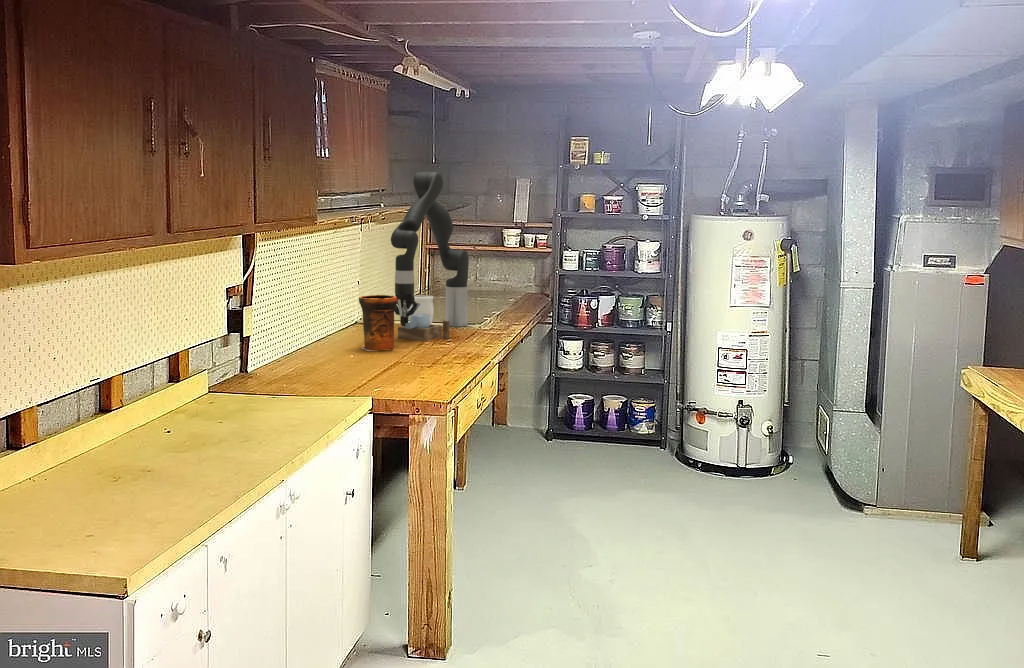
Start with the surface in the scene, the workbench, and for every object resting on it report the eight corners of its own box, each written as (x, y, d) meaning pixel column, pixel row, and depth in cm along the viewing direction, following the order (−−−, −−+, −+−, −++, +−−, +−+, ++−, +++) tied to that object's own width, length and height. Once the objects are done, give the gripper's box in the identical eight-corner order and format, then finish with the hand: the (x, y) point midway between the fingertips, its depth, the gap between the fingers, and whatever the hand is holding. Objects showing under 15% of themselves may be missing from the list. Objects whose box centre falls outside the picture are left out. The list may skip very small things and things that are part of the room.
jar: (435, 330, 420) (435, 295, 418) (431, 333, 410) (431, 297, 408) (411, 329, 421) (410, 294, 419) (406, 333, 411) (405, 297, 409)
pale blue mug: (414, 335, 401) (414, 313, 399) (432, 336, 398) (432, 314, 397) (398, 341, 387) (398, 318, 385) (417, 342, 384) (417, 319, 383)
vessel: (365, 352, 364) (365, 298, 361) (354, 347, 377) (354, 295, 374) (403, 350, 370) (402, 297, 368) (391, 345, 383) (390, 294, 380)
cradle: (415, 335, 405) (415, 316, 404) (454, 339, 396) (454, 320, 395) (396, 340, 393) (395, 320, 392) (435, 344, 384) (435, 324, 383)
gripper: (424, 282, 386) (423, 326, 389) (394, 280, 391) (394, 323, 394) (414, 283, 379) (414, 328, 382) (384, 281, 384) (384, 325, 387)
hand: (404, 325), depth 388 cm, fingers closed
